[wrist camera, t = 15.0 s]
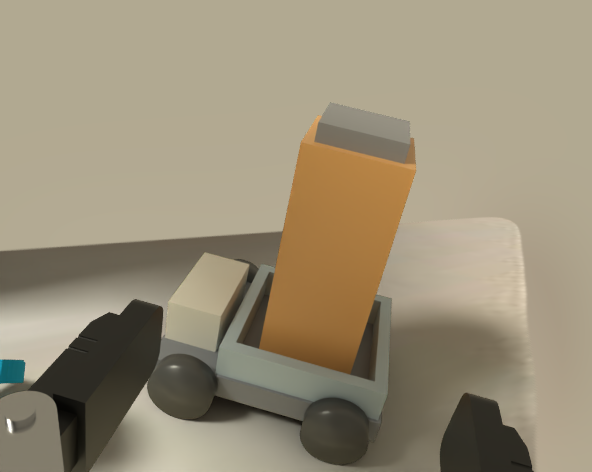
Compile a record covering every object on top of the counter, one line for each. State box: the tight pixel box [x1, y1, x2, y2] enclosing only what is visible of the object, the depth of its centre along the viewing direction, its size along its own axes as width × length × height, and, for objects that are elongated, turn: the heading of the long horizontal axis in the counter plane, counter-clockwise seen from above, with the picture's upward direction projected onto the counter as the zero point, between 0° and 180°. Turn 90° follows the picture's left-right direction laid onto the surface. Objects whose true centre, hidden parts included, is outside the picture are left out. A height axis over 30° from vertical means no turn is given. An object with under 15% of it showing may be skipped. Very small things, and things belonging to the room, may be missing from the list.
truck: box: [147, 252, 392, 464], centre depth 27 cm, size 11×10×4 cm
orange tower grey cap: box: [259, 103, 416, 374], centre depth 24 cm, size 4×4×12 cm
